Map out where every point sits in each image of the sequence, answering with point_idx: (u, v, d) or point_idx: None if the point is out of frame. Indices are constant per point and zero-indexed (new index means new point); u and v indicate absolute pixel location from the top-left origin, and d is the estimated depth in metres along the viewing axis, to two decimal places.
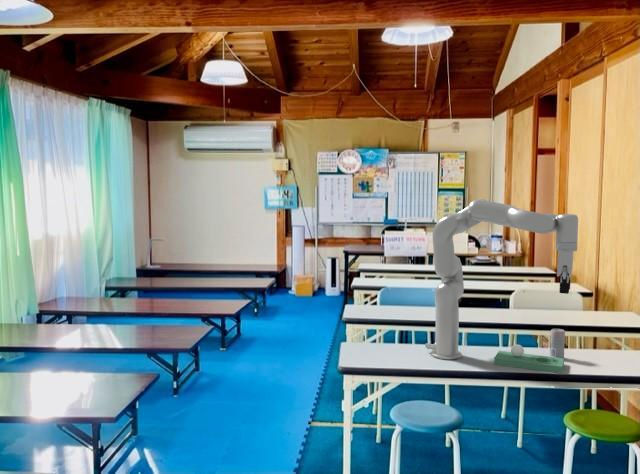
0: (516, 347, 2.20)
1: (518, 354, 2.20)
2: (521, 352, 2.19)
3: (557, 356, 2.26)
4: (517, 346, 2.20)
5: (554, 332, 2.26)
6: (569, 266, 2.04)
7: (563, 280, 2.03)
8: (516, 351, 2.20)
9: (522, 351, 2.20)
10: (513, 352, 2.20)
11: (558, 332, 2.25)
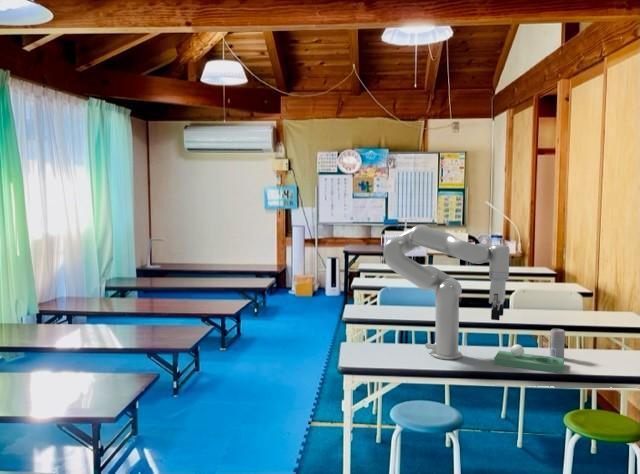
0: (516, 347, 2.20)
1: (518, 354, 2.20)
2: (521, 352, 2.19)
3: (557, 356, 2.26)
4: (517, 346, 2.20)
5: (554, 332, 2.26)
6: (500, 294, 2.18)
7: (494, 308, 2.17)
8: (516, 351, 2.20)
9: (522, 351, 2.20)
10: (513, 352, 2.20)
11: (558, 332, 2.25)
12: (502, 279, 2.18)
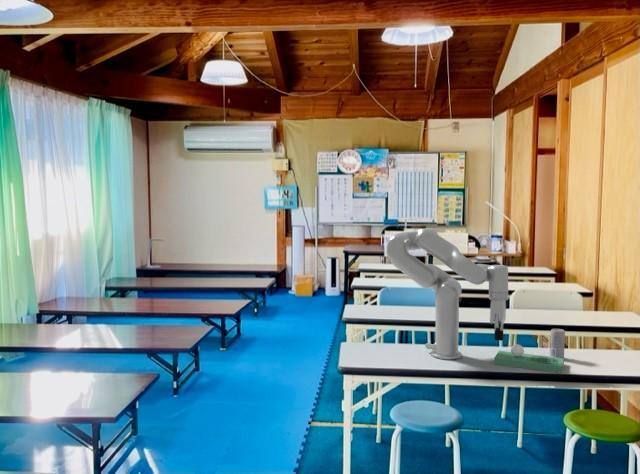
0: (516, 347, 2.20)
1: (518, 354, 2.20)
2: (521, 352, 2.19)
3: (557, 356, 2.26)
4: (517, 346, 2.20)
5: (554, 332, 2.26)
6: (500, 314, 2.18)
7: (497, 328, 2.21)
8: (516, 351, 2.20)
9: (522, 351, 2.20)
10: (513, 352, 2.20)
11: (558, 332, 2.25)
12: (502, 299, 2.19)
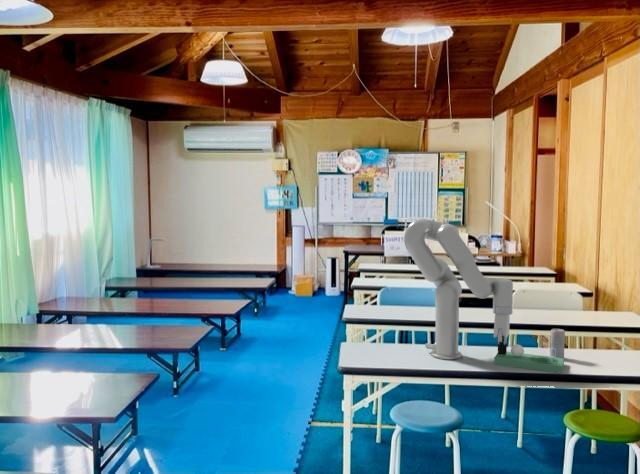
0: (516, 347, 2.20)
1: (518, 354, 2.20)
2: (521, 352, 2.19)
3: (557, 356, 2.26)
4: (517, 346, 2.20)
5: (554, 332, 2.26)
6: (504, 329, 2.18)
7: (500, 343, 2.21)
8: (516, 351, 2.20)
9: (522, 351, 2.20)
10: (513, 352, 2.20)
11: (558, 332, 2.25)
12: (506, 313, 2.19)
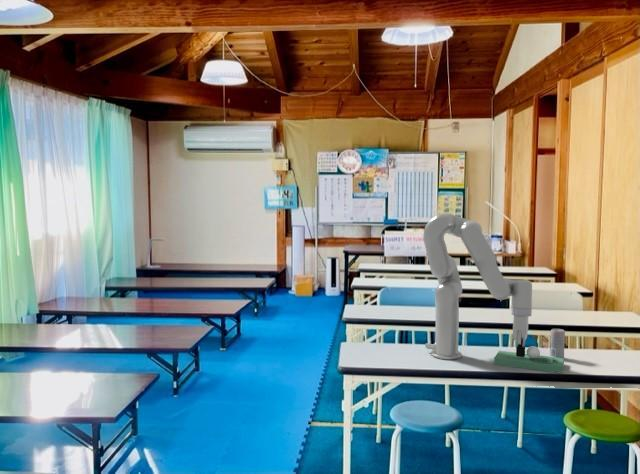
0: (536, 356, 2.17)
1: (529, 353, 2.18)
2: (529, 355, 2.18)
3: (557, 356, 2.26)
4: (536, 357, 2.18)
5: (554, 332, 2.26)
6: (523, 331, 2.15)
7: (519, 345, 2.18)
8: (533, 354, 2.17)
9: (529, 356, 2.19)
10: (534, 351, 2.17)
11: (558, 332, 2.25)
12: (525, 315, 2.15)
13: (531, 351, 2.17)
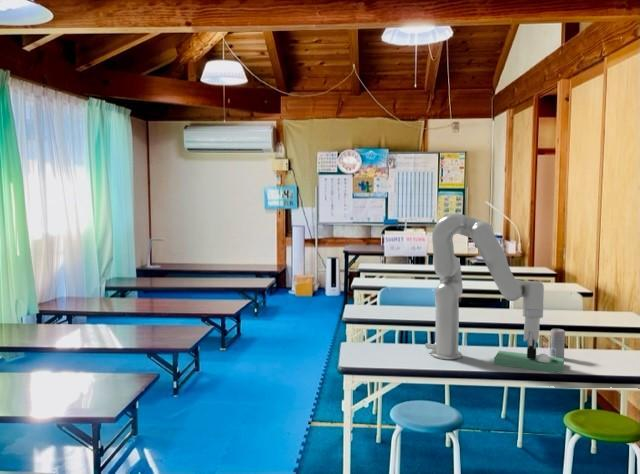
0: None
1: (544, 361, 2.14)
2: (541, 359, 2.15)
3: (557, 356, 2.26)
4: None
5: (554, 332, 2.26)
6: (535, 333, 2.13)
7: (530, 346, 2.16)
8: None
9: (540, 358, 2.15)
10: None
11: (558, 332, 2.25)
12: (537, 317, 2.13)
13: None
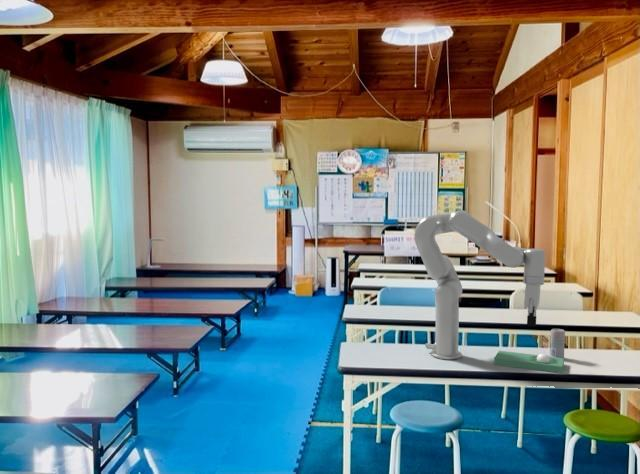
0: None
1: (544, 361, 2.14)
2: (541, 358, 2.15)
3: (557, 356, 2.26)
4: None
5: (554, 332, 2.26)
6: (535, 299, 2.12)
7: (530, 314, 2.15)
8: None
9: (540, 358, 2.16)
10: None
11: (558, 332, 2.25)
12: (538, 284, 2.13)
13: None
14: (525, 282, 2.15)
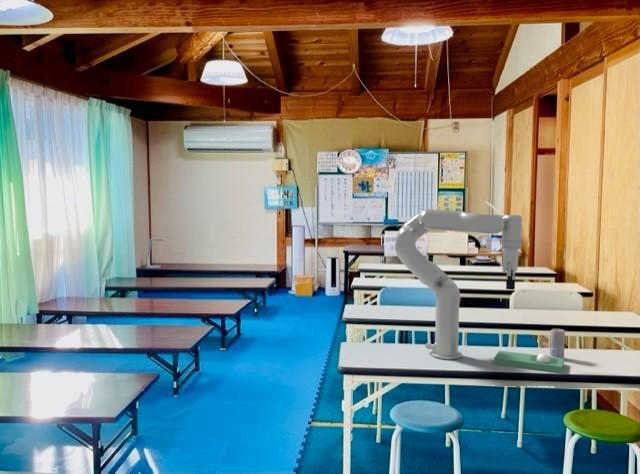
0: None
1: (544, 361, 2.15)
2: (541, 358, 2.15)
3: (557, 356, 2.26)
4: None
5: (554, 332, 2.26)
6: (513, 263, 2.20)
7: (509, 277, 2.24)
8: None
9: (540, 357, 2.16)
10: None
11: (558, 332, 2.25)
12: (515, 248, 2.21)
13: (546, 362, 2.15)
14: (503, 247, 2.24)
